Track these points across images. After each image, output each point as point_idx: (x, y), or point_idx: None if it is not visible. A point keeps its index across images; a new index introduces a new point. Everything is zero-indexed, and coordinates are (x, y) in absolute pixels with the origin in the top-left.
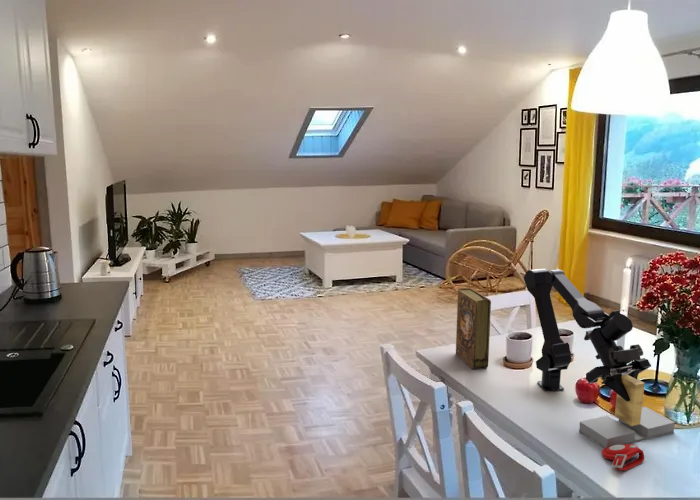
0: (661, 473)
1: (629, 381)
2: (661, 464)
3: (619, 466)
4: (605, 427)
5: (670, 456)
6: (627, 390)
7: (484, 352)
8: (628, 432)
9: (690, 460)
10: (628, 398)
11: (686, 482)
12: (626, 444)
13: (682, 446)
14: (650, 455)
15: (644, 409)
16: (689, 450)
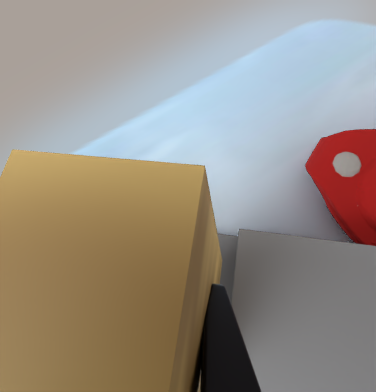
0: (320, 89)
1: (172, 359)
2: (277, 116)
3: None
4: (343, 335)
5: (212, 132)
6: (196, 344)
7: None
8: (272, 241)
9: (182, 99)
10: (225, 294)
11: (292, 45)
12: (338, 201)
13: (127, 151)
14: (263, 159)
15: None
16: (133, 130)
